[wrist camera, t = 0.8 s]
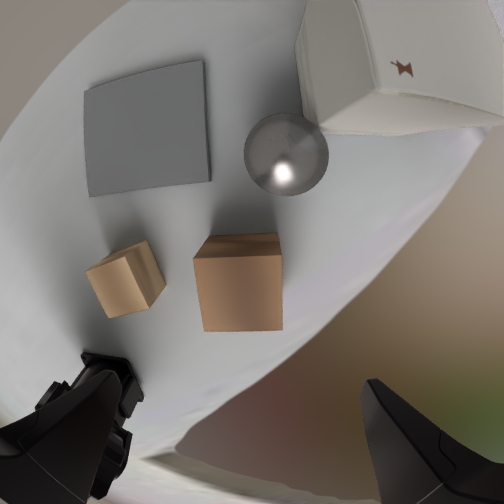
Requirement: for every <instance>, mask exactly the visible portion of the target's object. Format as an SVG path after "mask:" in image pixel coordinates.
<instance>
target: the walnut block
mask: <svg viewBox="0 0 504 504" xmlns="http://www.w3.org/2000/svg"><path fill="white" fill-rule="evenodd" d="M193 262H194V269H195V276H196V283H197V290H198V296H199V303H200V309H201V315H202V321H203V327H204V331H207V332H239V331H276V330H283V309H282V254H281V249H280V243H279V238H278V233H259V234H237V235H217V236H209V237H208V238H207V240H206V241H205V242H204V244H203V245H202V247H201V248H200V250H199V251H198V252H197V254H196V255H195V257H194V258H193Z"/></svg>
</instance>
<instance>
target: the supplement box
mask: <svg viewBox="0 0 504 504" xmlns="http://www.w3.org/2000/svg"><path fill="white" fill-rule="evenodd" d="M295 55H296V63H297V70H298V77H299V84H300V91H301V98H302V106H303V114H304V118H306V119H308V120H309V121H311V122H312V123H313V124H315V125H316V126H317V127H318V128H319V130H320V131H321V132H322V134H345V135H378V136H401V135H406V134H413V133H420V132H427V131H435V130H444V129H455V128H465V127H477V126H492V125H504V41H503V38H502V36H501V33H500V30H499V28H498V25H497V23H496V20H495V18H494V16H493V13H492V11H491V9H490V7H489V5H488V3H487V0H308V1H307V5H306V8H305V12H304V15H303V19H302V23H301V27H300V30H299V34H298V37H297V40H296V44H295Z"/></svg>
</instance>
